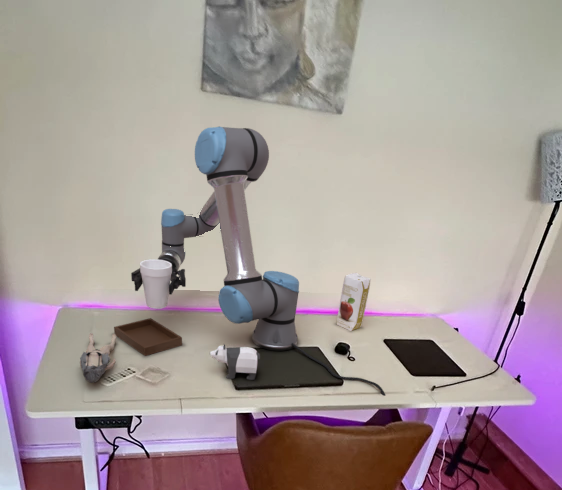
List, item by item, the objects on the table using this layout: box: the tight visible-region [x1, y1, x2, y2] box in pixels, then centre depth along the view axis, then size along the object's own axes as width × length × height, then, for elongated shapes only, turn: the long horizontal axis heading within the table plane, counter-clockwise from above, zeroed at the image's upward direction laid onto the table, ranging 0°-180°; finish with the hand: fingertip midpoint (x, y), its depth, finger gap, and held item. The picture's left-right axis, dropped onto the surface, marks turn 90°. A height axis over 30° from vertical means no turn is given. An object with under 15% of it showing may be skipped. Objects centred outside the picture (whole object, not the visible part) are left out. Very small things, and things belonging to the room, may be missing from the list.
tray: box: [113, 317, 183, 357], centre depth 165 cm, size 18×14×3 cm
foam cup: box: [139, 258, 172, 310], centre depth 159 cm, size 10×9×13 cm
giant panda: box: [209, 343, 261, 381], centre depth 151 cm, size 15×6×10 cm, turn 93°
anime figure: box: [79, 333, 118, 383], centre depth 148 cm, size 10×7×30 cm
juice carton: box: [336, 272, 372, 332], centre depth 188 cm, size 8×9×19 cm
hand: (153, 288), depth 155 cm, fingers closed on foam cup, 9 cm apart
